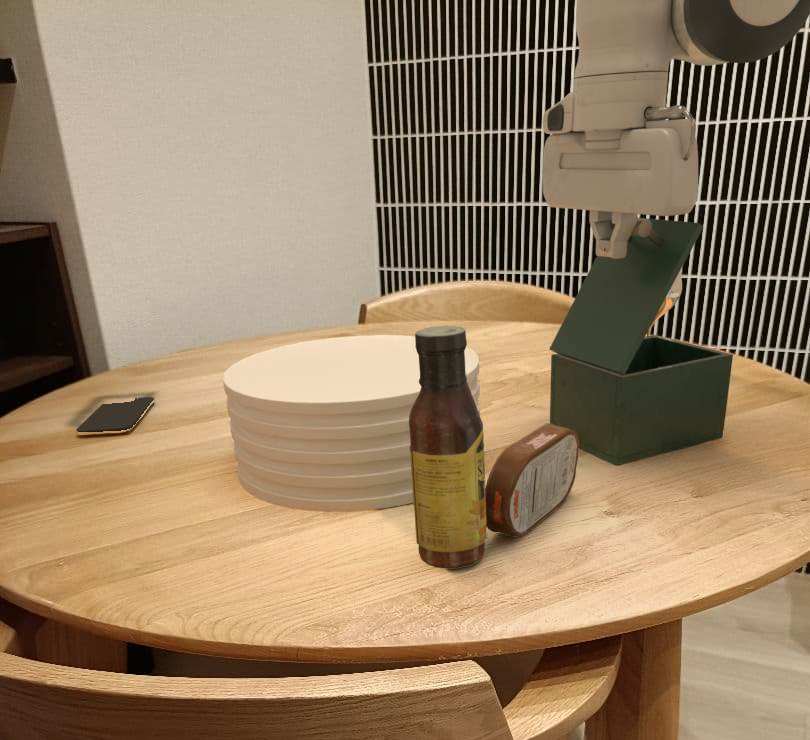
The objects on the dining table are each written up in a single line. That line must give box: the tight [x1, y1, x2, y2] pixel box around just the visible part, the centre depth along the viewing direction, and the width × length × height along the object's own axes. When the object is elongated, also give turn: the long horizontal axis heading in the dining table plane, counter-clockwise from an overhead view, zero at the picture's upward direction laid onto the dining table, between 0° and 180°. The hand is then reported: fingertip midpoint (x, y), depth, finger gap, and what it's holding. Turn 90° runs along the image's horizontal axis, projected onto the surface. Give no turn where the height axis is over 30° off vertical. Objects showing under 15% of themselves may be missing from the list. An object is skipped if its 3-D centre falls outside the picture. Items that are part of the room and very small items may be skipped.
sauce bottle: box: [409, 325, 488, 570], centre depth 69 cm, size 6×6×20 cm
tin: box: [485, 422, 580, 538], centre depth 77 cm, size 15×3×8 cm, turn 144°
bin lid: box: [548, 217, 704, 375], centre depth 88 cm, size 16×13×5 cm
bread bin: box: [549, 334, 734, 466], centre depth 96 cm, size 16×13×10 cm
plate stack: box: [222, 334, 481, 513], centre depth 93 cm, size 28×28×12 cm
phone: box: [75, 396, 155, 432], centre depth 115 cm, size 7×1×15 cm
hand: (610, 257), depth 86 cm, fingers closed
